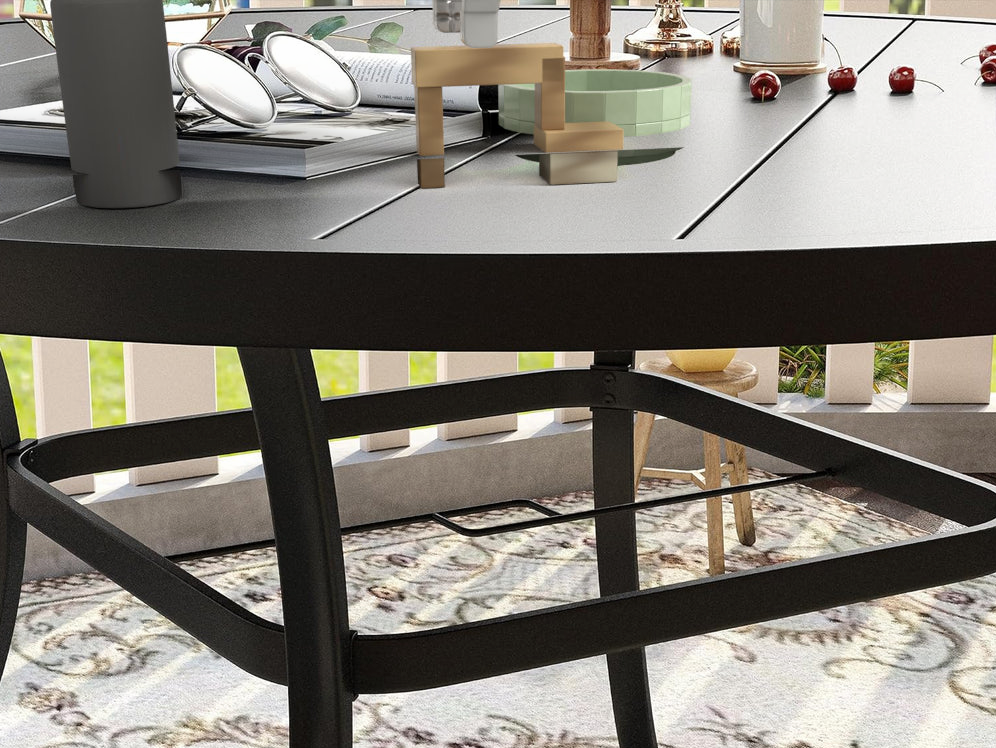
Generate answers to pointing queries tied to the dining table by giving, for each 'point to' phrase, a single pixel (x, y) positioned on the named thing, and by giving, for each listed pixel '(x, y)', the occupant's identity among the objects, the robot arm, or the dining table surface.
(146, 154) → the bottle
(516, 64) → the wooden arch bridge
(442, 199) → the dining table surface
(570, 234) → the dining table surface
